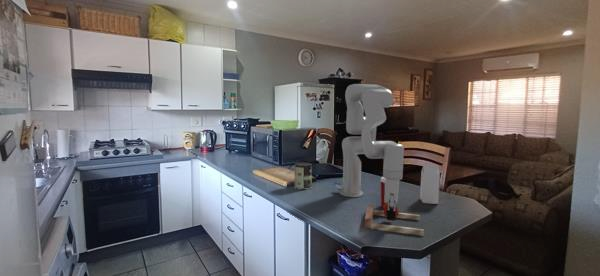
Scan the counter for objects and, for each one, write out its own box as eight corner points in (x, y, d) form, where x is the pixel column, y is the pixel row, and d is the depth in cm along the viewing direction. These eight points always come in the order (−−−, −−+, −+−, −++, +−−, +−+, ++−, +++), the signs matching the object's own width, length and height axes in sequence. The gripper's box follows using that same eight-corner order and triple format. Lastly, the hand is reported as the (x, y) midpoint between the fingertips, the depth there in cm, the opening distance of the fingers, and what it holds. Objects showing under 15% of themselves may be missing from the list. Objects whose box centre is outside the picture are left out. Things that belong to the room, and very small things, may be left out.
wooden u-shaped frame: (364, 228, 113) (365, 218, 112) (367, 213, 128) (368, 204, 128) (423, 235, 106) (423, 225, 106) (419, 219, 122) (419, 210, 121)
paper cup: (387, 210, 132) (388, 181, 130) (375, 205, 138) (376, 177, 137) (399, 208, 135) (400, 179, 134) (387, 203, 142) (388, 175, 141)
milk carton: (438, 204, 141) (440, 166, 139) (422, 203, 142) (424, 165, 140) (434, 199, 148) (436, 163, 146) (419, 198, 149) (421, 163, 147)
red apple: (381, 217, 120) (381, 199, 119) (394, 217, 121) (395, 198, 120) (386, 223, 114) (387, 204, 114) (400, 222, 115) (401, 203, 114)
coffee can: (311, 185, 174) (311, 162, 173) (311, 189, 164) (312, 165, 162) (294, 184, 174) (294, 162, 173) (294, 189, 164) (294, 165, 162)
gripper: (383, 168, 125) (381, 208, 127) (382, 178, 108) (380, 224, 110) (401, 170, 122) (399, 210, 125) (403, 180, 106) (401, 226, 108)
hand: (390, 216), depth 117 cm, fingers closed on red apple, 5 cm apart
